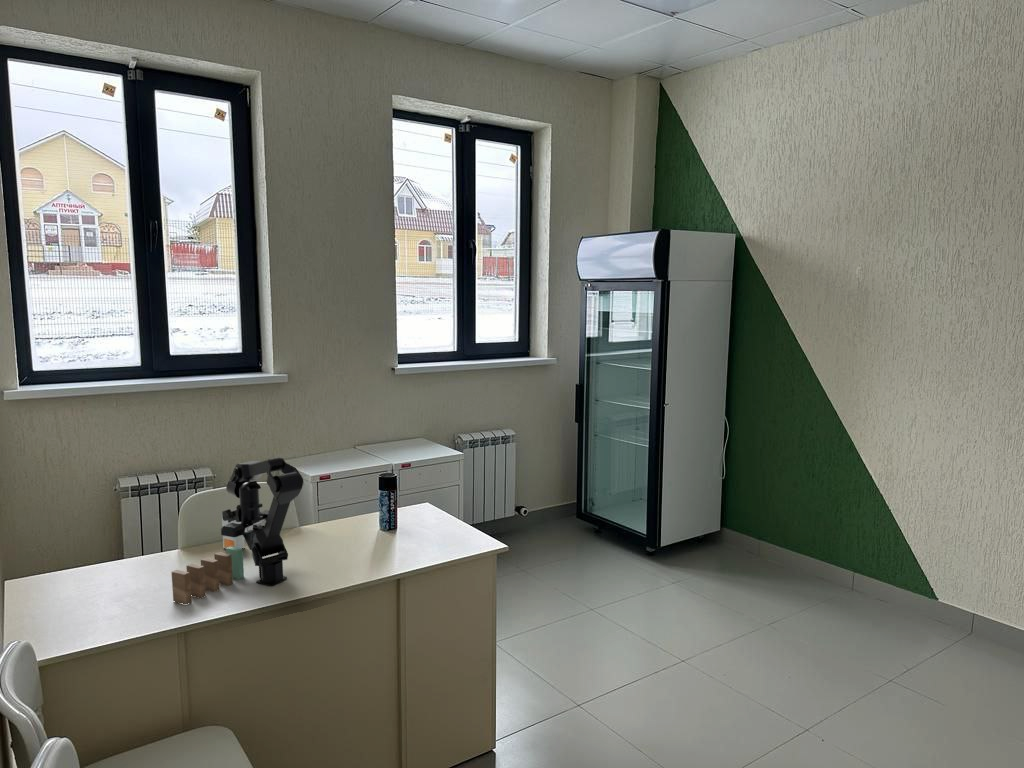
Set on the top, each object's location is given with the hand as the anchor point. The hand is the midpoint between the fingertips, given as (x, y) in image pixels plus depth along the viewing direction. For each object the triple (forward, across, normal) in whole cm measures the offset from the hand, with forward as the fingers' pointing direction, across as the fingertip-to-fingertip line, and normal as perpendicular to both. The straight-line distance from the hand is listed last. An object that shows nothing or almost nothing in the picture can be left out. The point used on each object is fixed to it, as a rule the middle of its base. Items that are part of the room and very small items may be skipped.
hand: (252, 549), depth 221 cm
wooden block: (+7, +11, 0) cm, 13 cm away
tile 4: (+7, +21, 0) cm, 22 cm away
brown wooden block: (+7, +26, 0) cm, 27 cm away
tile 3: (+7, +16, 0) cm, 18 cm away
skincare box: (+7, -12, -20) cm, 24 cm away
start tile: (+7, +6, -1) cm, 9 cm away
